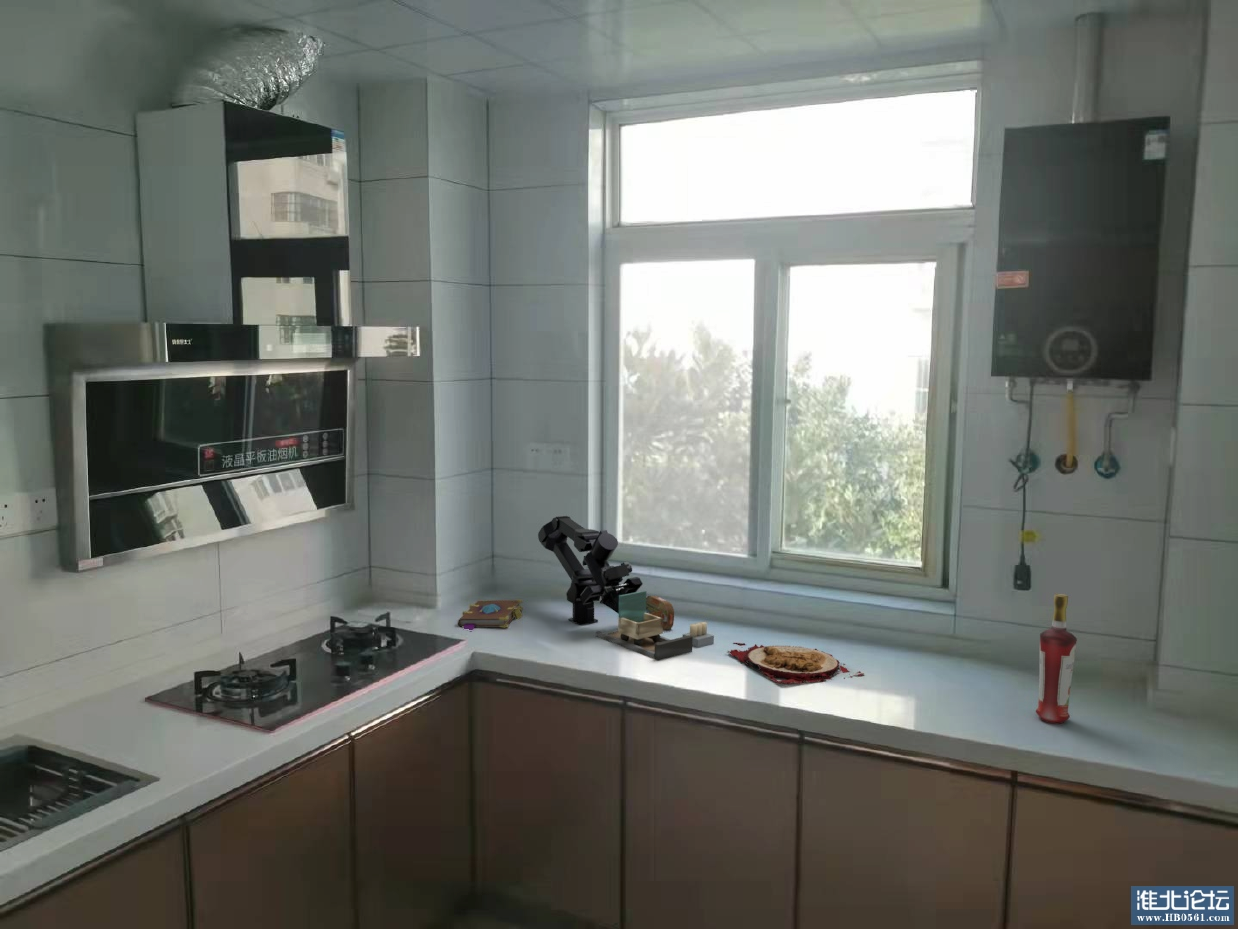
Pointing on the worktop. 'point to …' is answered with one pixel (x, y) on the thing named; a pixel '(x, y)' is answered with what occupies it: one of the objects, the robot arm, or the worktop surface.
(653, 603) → the tin
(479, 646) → the worktop surface
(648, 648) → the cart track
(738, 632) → the worktop surface
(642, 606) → the cart
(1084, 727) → the worktop surface
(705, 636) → the grey block with cylinders
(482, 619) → the book
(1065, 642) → the liquor
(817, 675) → the plate with food
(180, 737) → the worktop surface
